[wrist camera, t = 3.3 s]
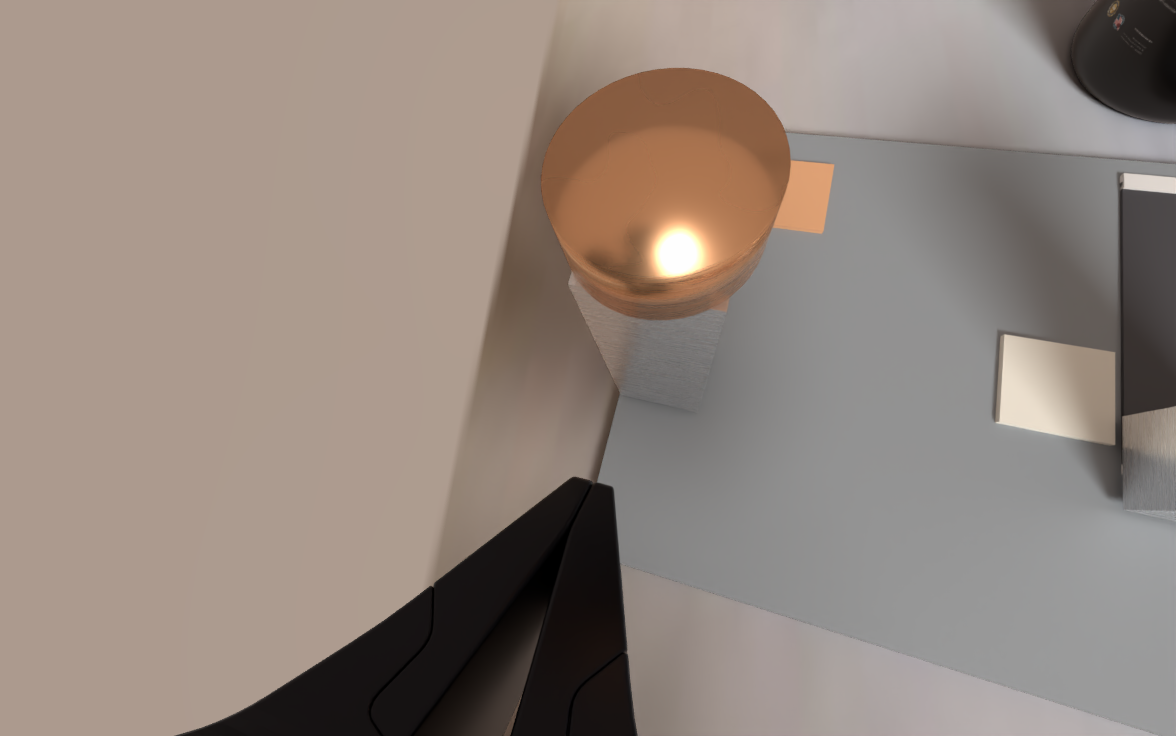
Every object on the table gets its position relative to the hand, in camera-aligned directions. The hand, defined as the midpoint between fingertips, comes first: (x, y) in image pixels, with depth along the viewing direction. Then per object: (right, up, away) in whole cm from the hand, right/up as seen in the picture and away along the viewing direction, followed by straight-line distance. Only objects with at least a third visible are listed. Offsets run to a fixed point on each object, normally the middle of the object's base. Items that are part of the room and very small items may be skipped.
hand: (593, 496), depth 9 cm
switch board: (+11, +3, +7) cm, 13 cm away
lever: (+3, +2, +8) cm, 9 cm away
